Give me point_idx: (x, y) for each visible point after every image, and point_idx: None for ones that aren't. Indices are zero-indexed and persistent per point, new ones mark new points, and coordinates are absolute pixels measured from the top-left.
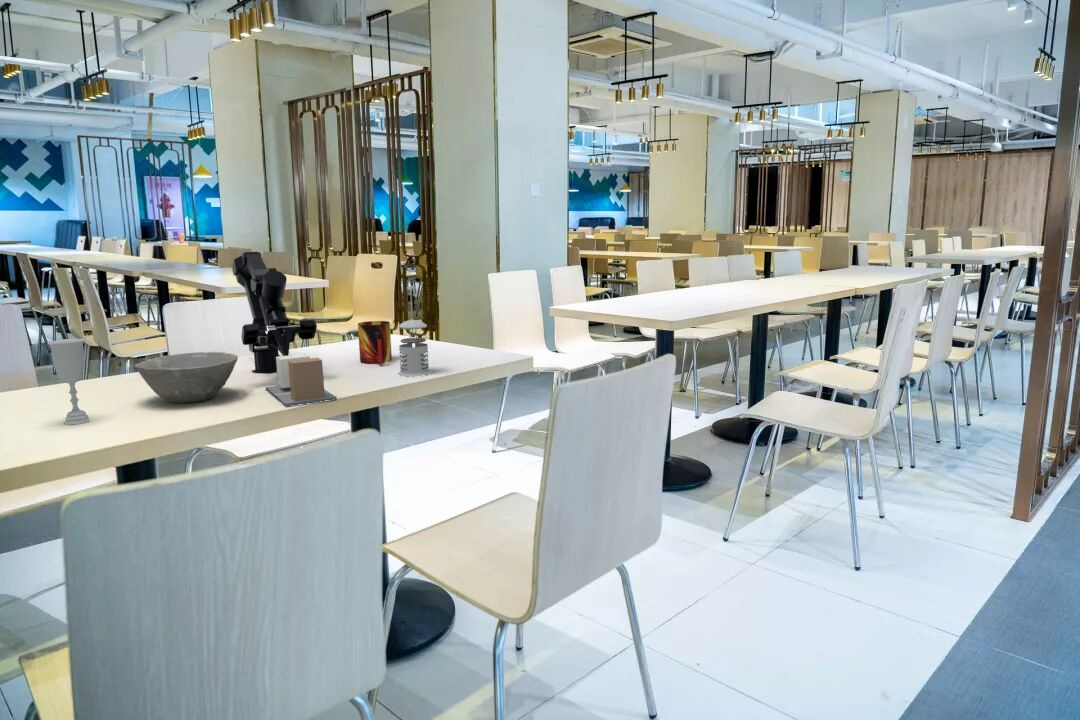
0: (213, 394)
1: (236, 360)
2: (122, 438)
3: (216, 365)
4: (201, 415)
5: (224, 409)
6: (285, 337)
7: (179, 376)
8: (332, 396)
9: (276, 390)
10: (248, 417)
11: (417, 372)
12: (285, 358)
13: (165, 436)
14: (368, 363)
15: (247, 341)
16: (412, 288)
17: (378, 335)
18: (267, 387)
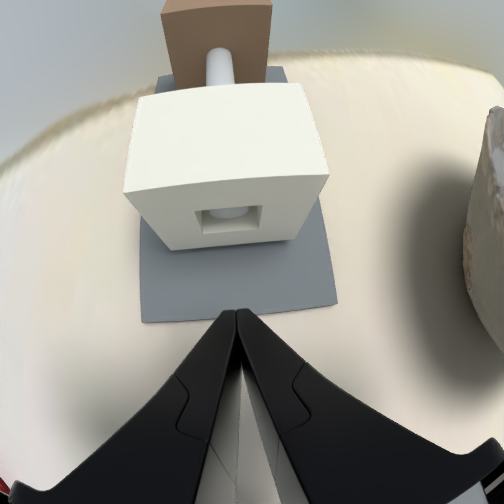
0: (466, 223)
1: (490, 186)
2: (469, 83)
3: (492, 108)
4: (434, 112)
5: (411, 124)
6: (211, 425)
7: None
8: (163, 81)
9: None
10: (349, 56)
11: None
12: (272, 97)
13: (430, 57)
14: (4, 484)
15: (500, 470)
16: None
17: None
18: (330, 291)
